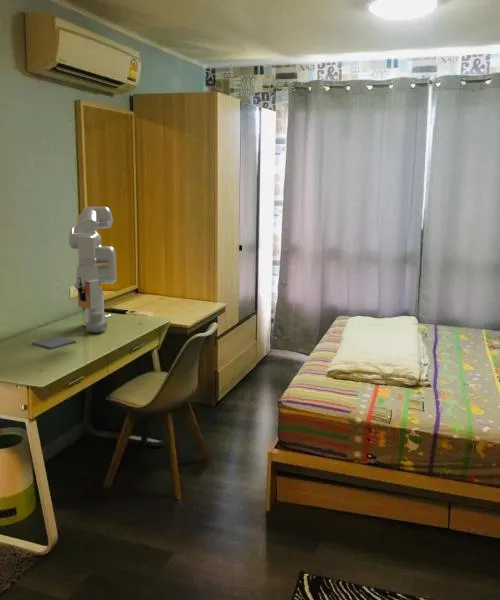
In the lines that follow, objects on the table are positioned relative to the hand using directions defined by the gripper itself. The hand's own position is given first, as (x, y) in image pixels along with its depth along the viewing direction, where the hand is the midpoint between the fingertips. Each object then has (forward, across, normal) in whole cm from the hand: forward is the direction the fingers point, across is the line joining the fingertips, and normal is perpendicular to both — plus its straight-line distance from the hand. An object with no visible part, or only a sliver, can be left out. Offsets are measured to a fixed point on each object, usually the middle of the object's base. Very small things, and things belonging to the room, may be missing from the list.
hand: (88, 299), depth 281 cm
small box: (+4, 0, 0) cm, 4 cm away
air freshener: (+22, -16, -13) cm, 30 cm away
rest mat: (+21, +11, -13) cm, 27 cm away
